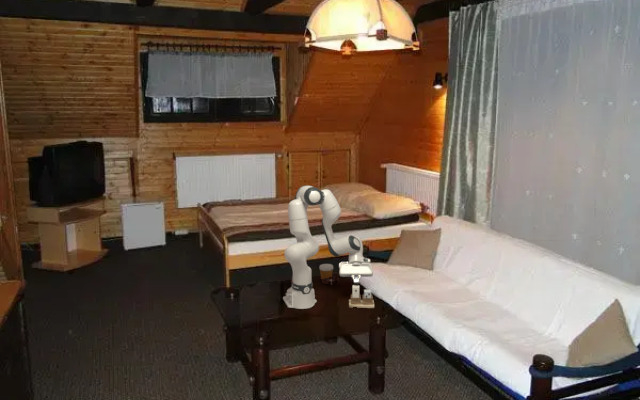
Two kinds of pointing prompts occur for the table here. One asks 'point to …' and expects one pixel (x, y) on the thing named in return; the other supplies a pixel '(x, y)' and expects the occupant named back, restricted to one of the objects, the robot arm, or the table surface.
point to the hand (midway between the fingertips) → (356, 282)
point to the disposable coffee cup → (326, 270)
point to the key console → (361, 302)
